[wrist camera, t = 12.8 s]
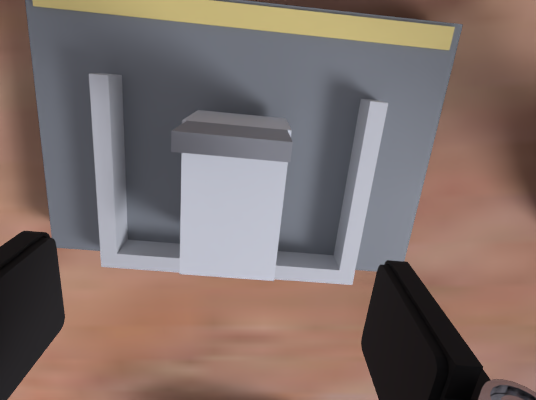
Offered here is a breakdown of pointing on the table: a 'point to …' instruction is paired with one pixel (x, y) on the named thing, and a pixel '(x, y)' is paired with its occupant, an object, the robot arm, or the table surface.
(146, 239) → the dock
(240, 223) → the lidded storage box
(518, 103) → the table surface
